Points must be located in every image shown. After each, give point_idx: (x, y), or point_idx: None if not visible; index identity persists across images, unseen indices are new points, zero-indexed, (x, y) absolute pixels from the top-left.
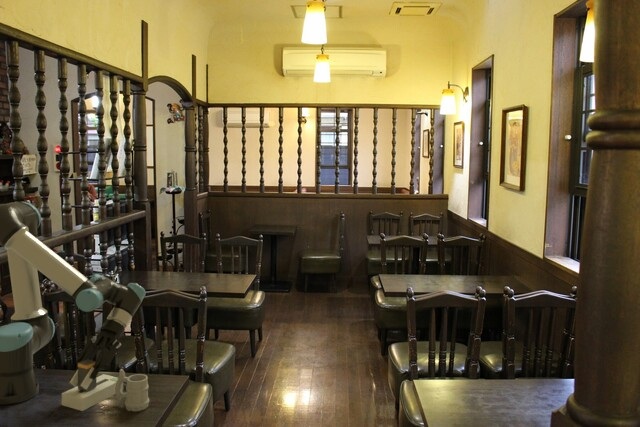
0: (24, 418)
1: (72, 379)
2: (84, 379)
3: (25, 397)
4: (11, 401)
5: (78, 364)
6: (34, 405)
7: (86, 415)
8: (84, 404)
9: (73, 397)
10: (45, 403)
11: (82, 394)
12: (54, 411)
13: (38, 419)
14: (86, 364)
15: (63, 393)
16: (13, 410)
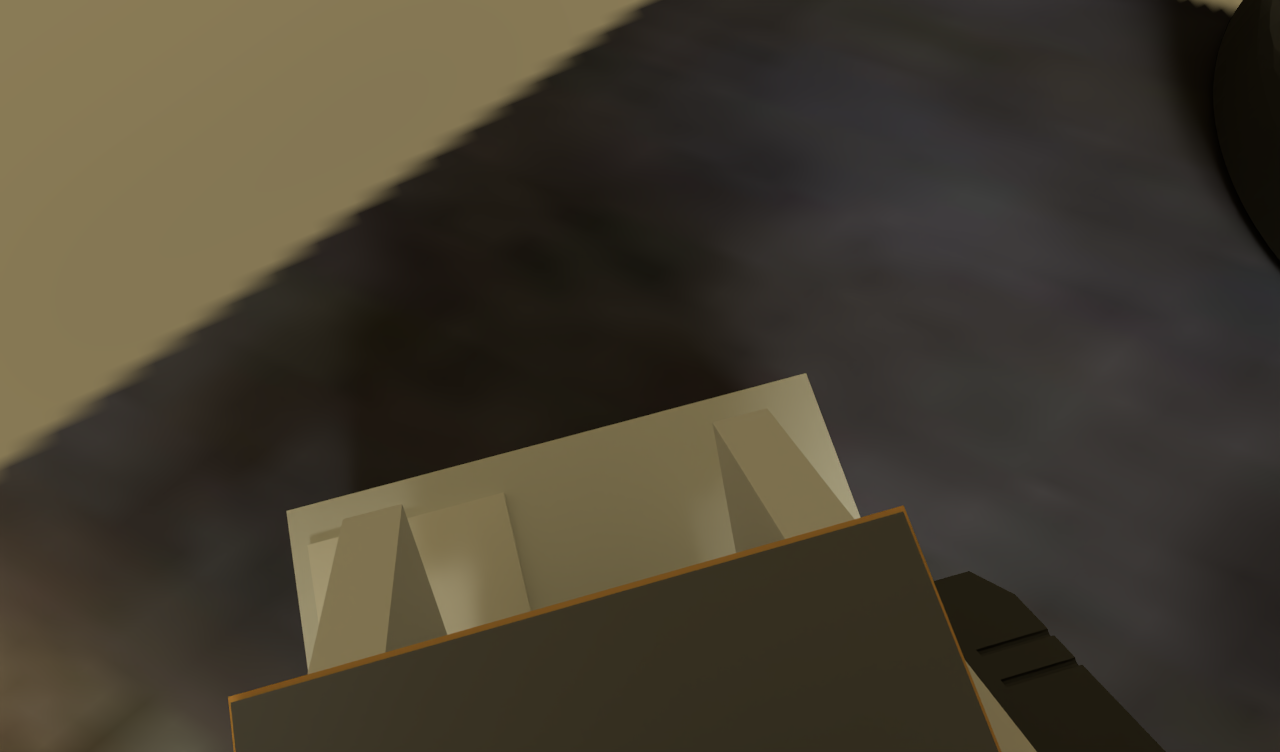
0: (726, 17)
1: (760, 455)
2: (370, 606)
3: (1259, 153)
4: (1240, 23)
5: (834, 527)
6: (1014, 206)
7: (184, 532)
8: None
9: (516, 454)
10: (987, 320)
11: (453, 604)
12: (653, 296)
13: (584, 96)
14: (348, 733)
15: (779, 390)
16: (1023, 14)
